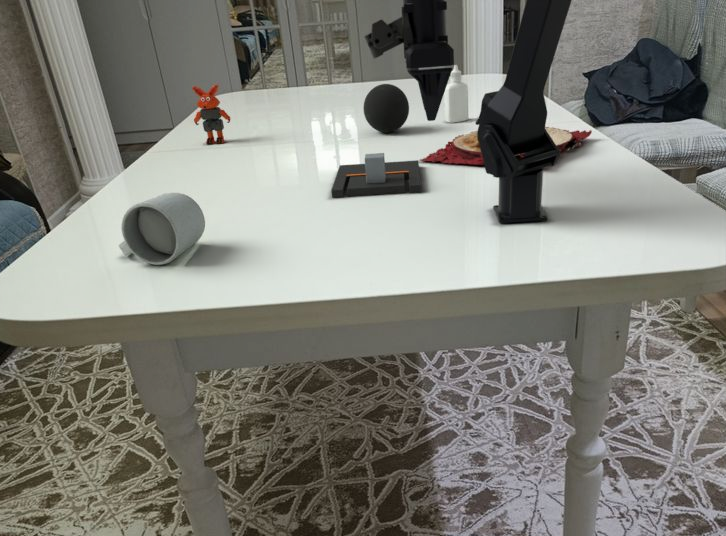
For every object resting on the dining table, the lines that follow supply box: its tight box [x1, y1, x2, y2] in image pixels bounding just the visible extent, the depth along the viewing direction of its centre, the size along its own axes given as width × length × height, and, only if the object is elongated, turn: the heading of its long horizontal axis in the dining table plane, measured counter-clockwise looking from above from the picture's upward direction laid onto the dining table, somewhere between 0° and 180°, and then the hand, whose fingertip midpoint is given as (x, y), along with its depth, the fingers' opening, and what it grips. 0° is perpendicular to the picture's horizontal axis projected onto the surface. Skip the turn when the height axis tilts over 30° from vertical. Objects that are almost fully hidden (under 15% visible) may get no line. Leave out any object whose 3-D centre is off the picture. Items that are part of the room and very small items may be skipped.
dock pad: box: [331, 159, 422, 199], centre depth 106 cm, size 16×14×1 cm
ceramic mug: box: [118, 192, 206, 266], centre depth 80 cm, size 11×8×8 cm
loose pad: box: [346, 152, 406, 197], centre depth 102 cm, size 7×9×5 cm
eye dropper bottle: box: [443, 64, 469, 124], centre depth 145 cm, size 4×6×12 cm
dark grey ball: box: [363, 83, 410, 134], centre depth 139 cm, size 10×10×10 cm
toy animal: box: [191, 83, 231, 146], centre depth 140 cm, size 8×6×12 cm
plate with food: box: [419, 126, 593, 166], centre depth 119 cm, size 24×26×4 cm
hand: (429, 115), depth 94 cm, fingers open, 9 cm apart
